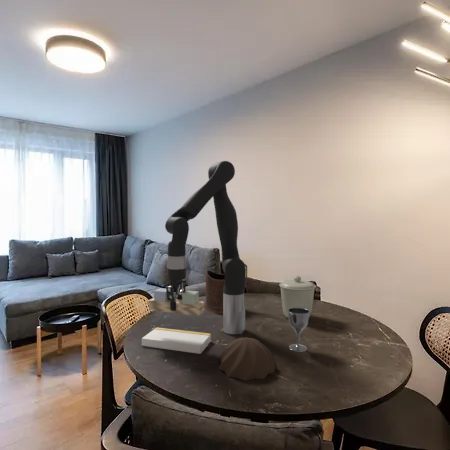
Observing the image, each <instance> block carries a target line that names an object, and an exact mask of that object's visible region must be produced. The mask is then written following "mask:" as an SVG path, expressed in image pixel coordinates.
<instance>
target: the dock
mask: <svg viewBox="0 0 450 450" xmlns="http://www.w3.org/2000/svg"><path fill="white" fill-rule="evenodd" d="M211 341H212V334H211V333H208V332H207V333H206V332H199V331H192V330H183V329H182V330H181V329H176V328H175V329H173V328H165V327H155V328H153V329H152V330H151V331H150V332H148V333H147V334H146V335H144V336H143V337H142V338H141V346H142V347H147V348H155V349H164V350H171V351H177V352H178V351H179V352H185V353H192V354H199V355H200V354H202V353H203V351H204V350H205V349H206V348H207V346H208V345H209V344H210V343H211Z"/></svg>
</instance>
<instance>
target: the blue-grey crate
mask: <svg viewBox="0 0 450 450" xmlns="http://www.w3.org/2000/svg"><path fill="white" fill-rule="evenodd" d="M153 295H154V296H153V298H154V301H161V302H166V301H167V291H166V287H165V288H163V287H159V288H158V289H155V290H154V291H153ZM169 297H170V296H169Z"/></svg>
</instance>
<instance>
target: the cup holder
mask: <svg viewBox="0 0 450 450" xmlns="http://www.w3.org/2000/svg"><path fill="white" fill-rule="evenodd" d="M244 264H245V268H246V280H245V285H246V284H247V283H248V265H247V264H246V263H244ZM224 285H225V273H216V272H213V271H212V270H205V302H204V312H205V311H206V312H209V313H212V314H223V288H224Z"/></svg>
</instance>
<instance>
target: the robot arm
mask: <svg viewBox="0 0 450 450" xmlns="http://www.w3.org/2000/svg"><path fill="white" fill-rule="evenodd" d="M207 175H208V176H207V177H208V180H207V182H206V183H204V184H203V185H202V186H201V187H200V188H198V189H197V190H196V191H194V192H193V194H192V195H190V196H189V198H188V199H187V200H186V201H185V202H184V203H183V205H182V206H180V208H178V209H177V210H176V211H174V212H173V213H172V214H171V215H170V216H169V217H168V218H167V220H166V221H165V226H164V227H165V230H166V232H167V233H168V234H170V235H171V236H172V237H171V241H169V242H168V244H167V259H166V260H167V261H166V266H167V267H166V271H167V272H166V277H167V279H168V280H170V283H169V285H168V286H166V287H165V289H166V291H167V301H170V310H171V311H175V310H176V299H182V294H183V293H184V292H186V289H187V280H186V278H187V258H186V256H187V255H186V244H187V241H188V236H189V231H190V225H189V221H191V220H193V219H195V218H196V217H197V216H198V215H199V213H201V211H202V210H203V209H204V207H206V205H207V204H208V203H209V201H211V199H212V198H213V204H214V211H215V220H216V228H217V233H218V237H219V242H220V245H221V247H220V248H221V265H222V266H221V267H222V270H223V274H225V285H224V288H223V313H222V316H223V317H222V321H223V323H222V329H223V332H224V333H225V334H228V335H242V334H243V333H244V332H245V329H246V309H245V287H246V284H245V282H246V266H245V264H246V263H245V261H243V260H242V259H241V258H240V255H239V248H238V236H239V223H238V215H237V211H236V208H235V206H234V205H233V202H232V201H231V199H230V197H229V193H228V192H227V184H228V183H229V182H230V181H231V180H232V179H233V178H234V176H235V175H236V170H235V166H234V164H233V163H232V162H230V161H228V160H221V161H219V162H215V163H212V164H211V165H210V166H209V168H208V171H207ZM169 296H170V297H169Z"/></svg>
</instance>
